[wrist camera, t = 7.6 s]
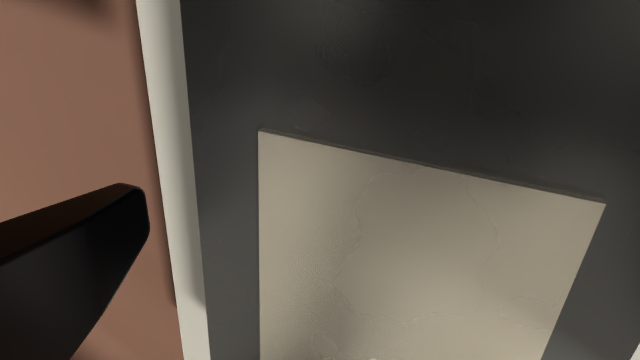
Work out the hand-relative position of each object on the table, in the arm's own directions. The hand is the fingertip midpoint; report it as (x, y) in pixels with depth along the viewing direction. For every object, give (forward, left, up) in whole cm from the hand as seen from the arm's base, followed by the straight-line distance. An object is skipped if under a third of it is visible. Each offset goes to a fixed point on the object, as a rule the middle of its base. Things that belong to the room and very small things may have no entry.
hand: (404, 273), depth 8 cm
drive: (0, 0, -3) cm, 3 cm away
